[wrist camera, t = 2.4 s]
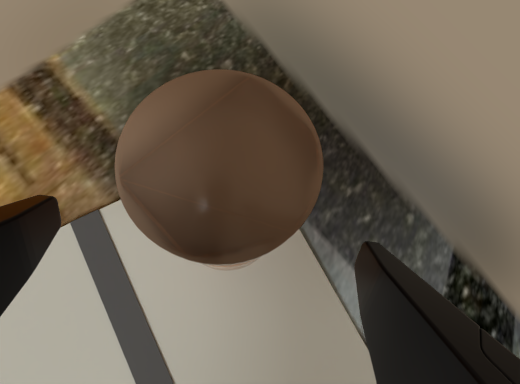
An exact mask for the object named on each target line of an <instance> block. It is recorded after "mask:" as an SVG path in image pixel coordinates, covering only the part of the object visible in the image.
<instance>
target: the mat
mask: <svg viewBox="0 0 520 384" xmlns="http://www.w3.org/2000/svg"><path fill="white" fill-rule="evenodd" d="M0 384H377V383H376V379H375V375H374V370H373V366H372V362H371V358H370V354H369V351H368V349H367V347H366V345H365V344H364V342H363V340H362V338H361V337H360V335H359V333H358V331H357V330H356V328H355V326H354V324H353V323H352V321H351V319H350V317H349V316H348V314H347V312H346V310H345V309H344V307H343V305H342V303H341V301H340V300H339V298H338V296H337V294H336V293H335V291H334V289H333V287H332V286H331V284H330V282H329V280H328V279H327V277H326V275H325V273H324V272H323V270H322V268H321V266H320V265H319V263H318V261H317V259H316V258H315V256H314V254H313V252H312V251H311V249H310V247H309V245H308V244H307V242H306V240H305V238H304V237H303V235H302V233H301V231H300V229H298V230H297V231H296V233H295V234H294V235H292V236H291V237H290V238H289V239H288V240H287V241H285V242H284V243H283V244H282V245H280V246H279V247H277V248H276V249H274V250H273V251H271V252H269V253H268V254H266V255H264V256H261V257H260V258H259V259H258V260H257V261H255V262H254V263H252V264H251V265H248V266H246V267H244V268H241V269H237V270H230V271H224V270H216V269H212V268H210V267H207V266H205V265H203V264H201V263H196V262H192V261H189V260H186V259H184V258H181V257H179V256H176V255H174V254H172V253H170V252H168V251H166V250H164V249H163V248H161V247H159V246H158V245H157V244H155V243H154V242H152V241H151V240H150V239H148V238H147V237H146V236H145V235H144V234H143V233H142V232H141V231H140V230H139V229H138V228H137V226H136V225H135V224H134V222H133V221H132V220H131V218H130V217H129V215H128V213H127V211H126V210H125V208H124V206H123V204H122V201H121V200H119V201H117V202H114V203H112V204H110V205H108V206H106V207H104V208H102V209H99V210H96V211H94V212H91V213H89V214H87V215H85V216H83V217H81V218H79V219H76V220H74V221H72V222H70V223H69V224H67V225H65V226H63V227H61V228H60V229H59V231H58V232H57V234H56V236H55V237H54V239H53V241H52V242H51V244H50V246H49V247H48V249H47V251H46V253H45V254H44V256H43V258H42V259H41V261H40V263H39V264H38V266H37V268H36V269H35V271H34V272H33V274H32V275H31V276H30V278H29V279H28V281H27V282H26V283H25V285H24V286H23V287H22V289H21V290H20V291H19V293H18V294H17V295H16V297H15V298H14V299H13V301H12V302H11V303H10V305H9V306H8V307H7V309H6V310H5V311H4V313H3V314H2V315H1V317H0Z"/></svg>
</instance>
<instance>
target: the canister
mask: <svg viewBox="0 0 520 384" xmlns="http://www.w3.org/2000/svg"><path fill="white" fill-rule="evenodd" d="M322 178H323V155H322V149H321V145H320V140H319V137H318V135H317V132H316V130H315V127H314V125H313V124H312V122H311V120H310V118H309V116H308V115H307V114H306V112H305V111H304V110H303V108H302V107H301V106H300V105H299V104H298V103H297V101H296V100H295V99H294V98H293V97H291V96H290V95H289V94H288V93H287V92H285V91H284V90H283V89H281V88H280V87H278V86H277V85H275V84H273V83H271V82H269V81H267V80H266V79H264V78H261V77H258V76H255V75H253V74H249V73H245V72H241V71H234V70H223V69H214V70H203V71H198V72H193V73H189V74H186V75H183V76H180V77H177V78H175V79H173V80H171V81H169V82H167V83H165V84H164V85H162V86H160V87H159V88H157V89H156V90H154V91H153V92H152V93H151V94H149V95H148V96H147V97H146V98H145V99H144V100H143V101H142V102H141V103H140V104H139V105H138V106H137V107H136V109H135V110H134V111H133V113H132V114H131V115H130V117H129V119H128V120H127V122H126V124H125V126H124V128H123V130H122V133H121V135H120V138H119V141H118V145H117V150H116V156H115V179H116V184H117V189H118V193H119V196H120V198H121V201H122V204H123V206H124V208H125V210H126V211H127V213H128V215H129V217H130V218H131V220H132V221H133V222H134V224H135V225H136V226H137V228H138V229H139V230H140V231H141V232H142V233H143V234H144V235H145V236H146V237H147V238H148V239H150V240H151V241H152V242H154V243H155V244H157V245H158V246H159V247H161V248H163V249H164V250H166V251H168V252H170V253H172V254H174V255H176V256H179V257H181V258H184V259H186V260H189V261H192V262H196V263H201V264H203V265H205V266H207V267H210V268H212V269H216V270H224V271H230V270H237V269H241V268H244V267H246V266H248V265H251V264H252V263H254V262H255V261H257V260H258V259H259V258H260V257H261V256H264V255H266V254H268V253H269V252H271V251H273V250H274V249H276V248H277V247H279V246H280V245H282V244H283V243H284V242H285V241H287V240H288V239H289V238H290V237H291V236H292V235H294V234H295V233H296V231H297V230H298V229H299V228H300V227H301V226H302V225H303V224H304V222H305V221H306V219H307V218H308V216H309V215H310V213H311V211H312V209H313V207H314V205H315V203H316V201H317V198H318V195H319V192H320V189H321V184H322Z"/></svg>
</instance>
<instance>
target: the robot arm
mask: <svg viewBox="0 0 520 384" xmlns="http://www.w3.org/2000/svg"><path fill="white" fill-rule="evenodd" d="M60 226H61V217H60V212H59V206H58V202H57V199H56V198H55V197H53V196H46V195H37V196H33V197H30V198H27V199H23V200H20V201H17V202H14V203H10V204H7V205H4V206H1V207H0V317H1V315H2V314H3V313H4V311H5V310H6V309H7V307H8V306H9V305H10V303H11V302H12V301H13V299H14V298H15V297H16V295H17V294H18V293H19V291H20V290H21V289H22V287H23V286H24V285H25V283H26V282H27V281H28V279H29V278H30V276H31V275H32V274H33V272H34V271H35V269H36V268H37V266H38V264H39V263H40V261H41V259H42V258H43V256H44V254H45V253H46V251H47V249H48V247H49V246H50V244H51V242H52V241H53V239H54V237H55V236H56V234H57V232H58V231H59V229H60ZM355 276H356V285H357V293H358V301H359V309H360V316H361V320H362V325H363V329H364V333H365V337H366V341H367V346H368V350H369V354H370V358H371V362H372V366H373V370H374V375H375V379H376V383H377V384H520V359H519V358H518V357H516V356H515V355H514V354H513V353H511V352H510V351H509V350H508V349H507V348H505V347H504V346H503V345H502V344H500V343H499V342H498V341H497V340H495V339H494V338H493V337H492V336H491V335H489V334H488V333H487V332H486V331H485V330H483V329H480V327H479V326H478V325H477V324H476V323H475V322H474V321H472V320H471V319H470V318H469V317H468V316H466V315H465V314H464V313H463V312H461V311H460V310H459V309H458V308H457V307H455V306H454V305H453V304H452V303H451V302H449V301H448V300H447V299H446V298H445V297H443V296H442V295H441V294H440V293H439V292H437V291H436V290H435V289H434V288H432V287H431V286H430V285H429V284H428V283H426V282H425V281H424V280H423V279H422V278H420V277H419V276H418V275H417V274H416V273H414V272H413V271H412V270H411V269H409V268H408V267H407V266H406V265H405V264H403V263H402V262H401V261H400V260H399V259H397V258H396V257H395V256H394V255H393V254H391V253H390V252H389V251H388V250H387V249H385V248H384V247H383V246H382V245H380V244H379V243H376V242H369V241H366V242H364V243H363V244H362V246H361V249H360V251H359V254H358V257H357V259H356V262H355Z"/></svg>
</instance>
